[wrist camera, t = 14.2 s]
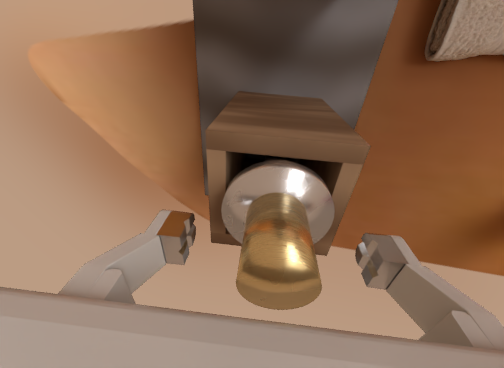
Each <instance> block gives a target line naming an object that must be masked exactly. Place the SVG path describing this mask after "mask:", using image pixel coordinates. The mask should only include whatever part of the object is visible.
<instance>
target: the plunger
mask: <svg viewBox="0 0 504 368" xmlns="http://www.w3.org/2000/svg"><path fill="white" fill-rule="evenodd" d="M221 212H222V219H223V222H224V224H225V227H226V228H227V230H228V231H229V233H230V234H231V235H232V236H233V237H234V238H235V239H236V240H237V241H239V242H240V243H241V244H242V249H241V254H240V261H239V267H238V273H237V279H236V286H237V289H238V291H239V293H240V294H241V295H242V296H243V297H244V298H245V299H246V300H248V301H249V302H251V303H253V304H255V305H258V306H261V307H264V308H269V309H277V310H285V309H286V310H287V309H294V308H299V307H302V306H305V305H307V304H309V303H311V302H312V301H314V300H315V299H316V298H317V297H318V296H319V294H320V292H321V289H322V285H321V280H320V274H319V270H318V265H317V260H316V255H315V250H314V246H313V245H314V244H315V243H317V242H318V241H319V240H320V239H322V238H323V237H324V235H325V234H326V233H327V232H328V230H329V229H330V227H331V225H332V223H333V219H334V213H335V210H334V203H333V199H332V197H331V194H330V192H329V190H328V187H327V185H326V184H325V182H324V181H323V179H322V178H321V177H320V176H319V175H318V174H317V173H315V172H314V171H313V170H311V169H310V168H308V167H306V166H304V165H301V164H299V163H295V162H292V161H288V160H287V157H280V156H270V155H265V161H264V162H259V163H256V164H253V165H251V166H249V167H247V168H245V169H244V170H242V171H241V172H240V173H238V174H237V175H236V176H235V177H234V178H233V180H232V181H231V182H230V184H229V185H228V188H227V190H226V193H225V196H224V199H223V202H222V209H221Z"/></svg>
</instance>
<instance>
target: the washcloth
mask: <svg viewBox="0 0 504 368" xmlns="http://www.w3.org/2000/svg"><path fill="white" fill-rule="evenodd" d="M500 54H502V55H504V0H441V3H440V5H439V7H438V10H437V13H436V15H435V19H434V21H433V24H432V27H431V30H430V32H429V35H428V38H427V42H426V46H425V57H426V59H427V60H428V61H430V60H434V61H436V62H437V61H445V60H457V59H459V60H460V59H464V58H468V57H475V56H478V55H500Z"/></svg>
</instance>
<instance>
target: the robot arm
mask: <svg viewBox="0 0 504 368" xmlns="http://www.w3.org/2000/svg"><path fill="white" fill-rule="evenodd" d="M194 220H195V218H194V214H193V213H187V212H179V211H170V210H161V211H160V212H159V213H158V214H157V216H156V217H155V219H154V220H153V221H152V223H151V224H150V226H149V227H148V229H147V230H146V231H145V233H144V234H141V233H140V234H139V235H137V236H135V237H133V238H132V239H130V240H128V241H126V242H124V243H122V244H120V245H118V246H117V247H115V248H113V249H111V250H109V251H107V252H106V253H104V254H102V255H100V256H98V257H96V258H95V259H93V260H91V261H89V262H87V263H85V264H84V265H83V266H82V267H81V269H79V271H78V272H77V273H76V274H75V275H74V276H73V277H72V278H71V280H70V281H69V282H68V283H67V284H66V285H65V286H64V287H63V289H62V290H61V291H60V292H59V293H58V294H51V293H44V292H36V291H28V290H21V289H12V288H5V287H0V368H504V327H503V325H502V324H501V323H500V322H499V320H498V319H497V318H496V317H495V316H494V315H493V314H492V313H490V312H489V311H488V310H486V309H485V308H484V307H482V306H481V305H479V304H478V303H476V302H475V301H473V300H472V299H471V298H469V297H468V296H467V295H465V294H464V293H462V292H461V291H460V290H458V289H457V288H455V287H454V286H452V285H451V284H450V283H448V282H447V281H445V280H444V279H443V278H441V277H440V276H438V275H437V274H435V273H434V272H433V271H431V270H430V269H429V268H427V267H425V266H422V265H421V264H420V262H419V261H418V259H417V258H416V257H415V255H414V254H413V252H412V251H411V249H410V248H409V246H408V245H407V244H406V242H405V241H404V239H403V238H402V237H400V236H394V235H383V234H373V233H365V234H364V235H363V236H362V238H361V239H362V241H363V242H362V243H361V244H359V245H358V246H357V248H356V255H355V256H356V261H357V263H358V265H359V266H360V267H361V268H362V269H363V271H362V273H361V274H362V276H363V279H364V281H365V284H366V286H367V287H371V288H378V289H384V290H386V291H387V292H388V293H389V294H390V295H391V297H393V299H394V300H395V301H396V302H397V303H398V304H399V305H400V306H401V307H402V308H403V309H404V311H405V312H406V313H407V314H408V315H409V316H410V317H411V318H412V319H413V320H414V321H415V322H416V323H417V325H418V326H419V327H420V328H421V329H422V330H423V331H424V332H425V335H423V336H422V337H421V338H420V339H419V340H413V339H405V338H397V337H390V336H382V335H374V334H366V333H358V332H350V331H343V330H335V329H327V328H318V327H311V326H303V325H295V324H288V323H279V322H272V321H264V320H255V319H248V318H239V317H232V316H224V315H216V314H208V313H201V312H193V311H185V310H176V309H169V308H161V307H153V306H146V305H145V306H144V305H138V304H135V301H134V299H133V297H132V295H131V294H132V293H133V292H134V291H135V290H136V289H138V288H139V287H140V286H141V285H142V284H143V283H145V282H146V281H147V280H148V279H149V278H151V277H152V276H153V275H154V274H155V273H156V272H157V271H159V270H160V269H161V268H162V267H163V266H164V265H166V263H170V264H180V265H184V264H185V262H186V259H187V257H188V255H189V247H191V246H192V245H193V242H194V239H195V235H196V227H195V225H194V224H193V222H194Z"/></svg>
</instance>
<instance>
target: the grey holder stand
mask: <svg viewBox="0 0 504 368" xmlns="http://www.w3.org/2000/svg"><path fill="white" fill-rule="evenodd" d="M397 3H398V0H193V11H194V27H195V43H196V59H197V75H198V90H199V106H200V122H201V138H202V154H203V169H204V185H205V195H209V209H210V228H211V242H212V243H220V244H229V245H237V246H242V244H241V243H240V242H239V241H237V240H236V239H235V238H234V237H233V236H232V235H231V234H230V233H229V231H228V230H227V228H226V227H225V224H224V222H223V219H222V212H221V209H222V202H223V199H224V196H225V193H226V190H227V188H228V185H229V184H230V182H231V181H232V180H233V178H234V177H235V176H236V175H237V174H238V173H240V172H241V171H242V170H244V169H245V168H247V167H249V166H251V165H253V164H256V163H259V162H264V161H265V155H270V156H280V157H287V160H288V161H292V162H295V163H299V164H301V165H304V166H306V167H308V168H310V169H311V170H313V171H314V172H315V173H317V174H318V175H319V176H320V177H321V178H322V179H323V181H324V182H325V184H326V185H327V187H328V190H329V192H330V194H331V197H332V199H333V203H334V210H335V213H334V219H333V223H332V225H331V227H330V229H329V230H328V232H327V233H326V234H325V235H324V237H323V238H322V239H320V240H319V241H318V242H317V243H315V244H314V245H313V246H314V250H315V254H316V255H325V256H327V254H328V251H329V248H330V246H331V244H332V241H333V239H334V236H335V234H336V231H337V229H338V226H339V224H340V221H341V219H342V216H343V214H344V212H345V209H346V207H347V204H348V202H349V199H350V197H351V194H352V192H353V189H354V187H355V184H356V182H357V179H358V177H359V174H360V172H361V169H362V167H363V164H364V162H365V159H366V157H367V154H368V152H369V149H370V147H371V146H370V145H369V144H368V143H367V142H366V141H365V140H364V139H363V138H362V137H361V136H360V135H359V134H358V133H357V132H356V131H355V130H354V129H355V126H356V123H357V120H358V117H359V114H360V111H361V108H362V105H363V102H364V100H365V97H366V94H367V91H368V88H369V85H370V82H371V79H372V76H373V73H374V70H375V67H376V64H377V61H378V59H379V56H380V53H381V50H382V47H383V44H384V41H385V38H386V35H387V32H388V29H389V26H390V23H391V20H392V18H393V15H394V12H395V9H396V6H397Z"/></svg>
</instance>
